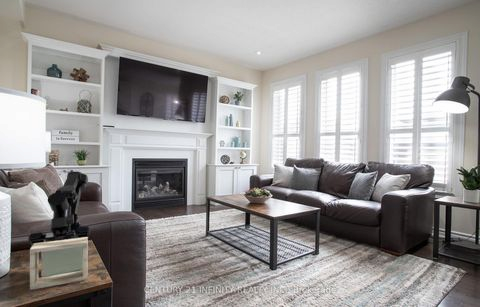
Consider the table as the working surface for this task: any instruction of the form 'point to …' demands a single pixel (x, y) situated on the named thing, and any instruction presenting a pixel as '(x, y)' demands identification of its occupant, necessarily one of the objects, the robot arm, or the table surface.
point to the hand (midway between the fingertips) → (59, 257)
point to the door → (61, 261)
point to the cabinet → (60, 278)
